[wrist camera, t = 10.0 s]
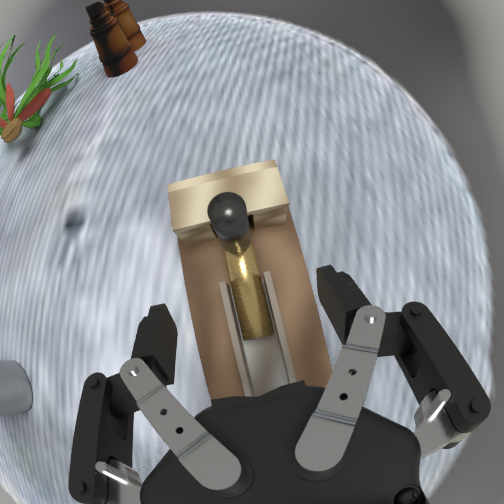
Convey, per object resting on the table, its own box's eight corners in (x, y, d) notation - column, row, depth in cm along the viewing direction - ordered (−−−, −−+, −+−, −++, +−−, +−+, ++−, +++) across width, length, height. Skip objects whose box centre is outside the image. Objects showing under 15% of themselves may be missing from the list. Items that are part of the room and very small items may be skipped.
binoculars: (134, 71, 45) (104, 1, 25) (102, 81, 45) (68, 19, 26) (148, 35, 50) (129, -21, 30) (121, 44, 50) (98, -9, 30)
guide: (222, 432, 27) (212, 454, 21) (175, 207, 35) (158, 183, 28) (337, 405, 27) (354, 422, 21) (279, 183, 35) (282, 154, 29)
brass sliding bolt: (244, 339, 28) (233, 347, 18) (215, 205, 32) (195, 153, 22) (273, 333, 28) (279, 337, 18) (241, 199, 32) (231, 144, 22)
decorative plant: (21, 184, 45) (29, 112, 52) (89, 114, 42) (87, 56, 49) (-57, 150, 20) (-24, 77, 27) (5, 48, 17) (35, 6, 23)
